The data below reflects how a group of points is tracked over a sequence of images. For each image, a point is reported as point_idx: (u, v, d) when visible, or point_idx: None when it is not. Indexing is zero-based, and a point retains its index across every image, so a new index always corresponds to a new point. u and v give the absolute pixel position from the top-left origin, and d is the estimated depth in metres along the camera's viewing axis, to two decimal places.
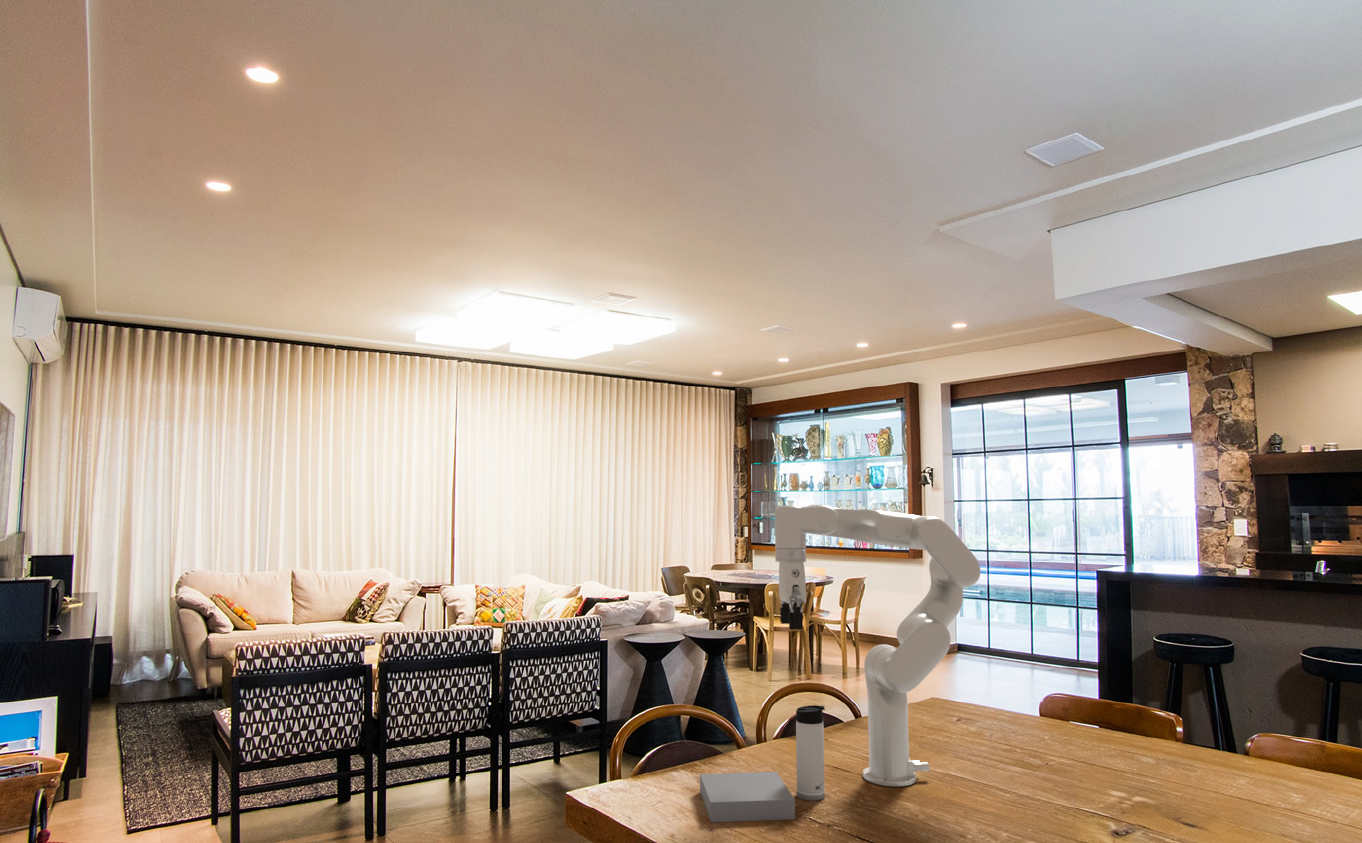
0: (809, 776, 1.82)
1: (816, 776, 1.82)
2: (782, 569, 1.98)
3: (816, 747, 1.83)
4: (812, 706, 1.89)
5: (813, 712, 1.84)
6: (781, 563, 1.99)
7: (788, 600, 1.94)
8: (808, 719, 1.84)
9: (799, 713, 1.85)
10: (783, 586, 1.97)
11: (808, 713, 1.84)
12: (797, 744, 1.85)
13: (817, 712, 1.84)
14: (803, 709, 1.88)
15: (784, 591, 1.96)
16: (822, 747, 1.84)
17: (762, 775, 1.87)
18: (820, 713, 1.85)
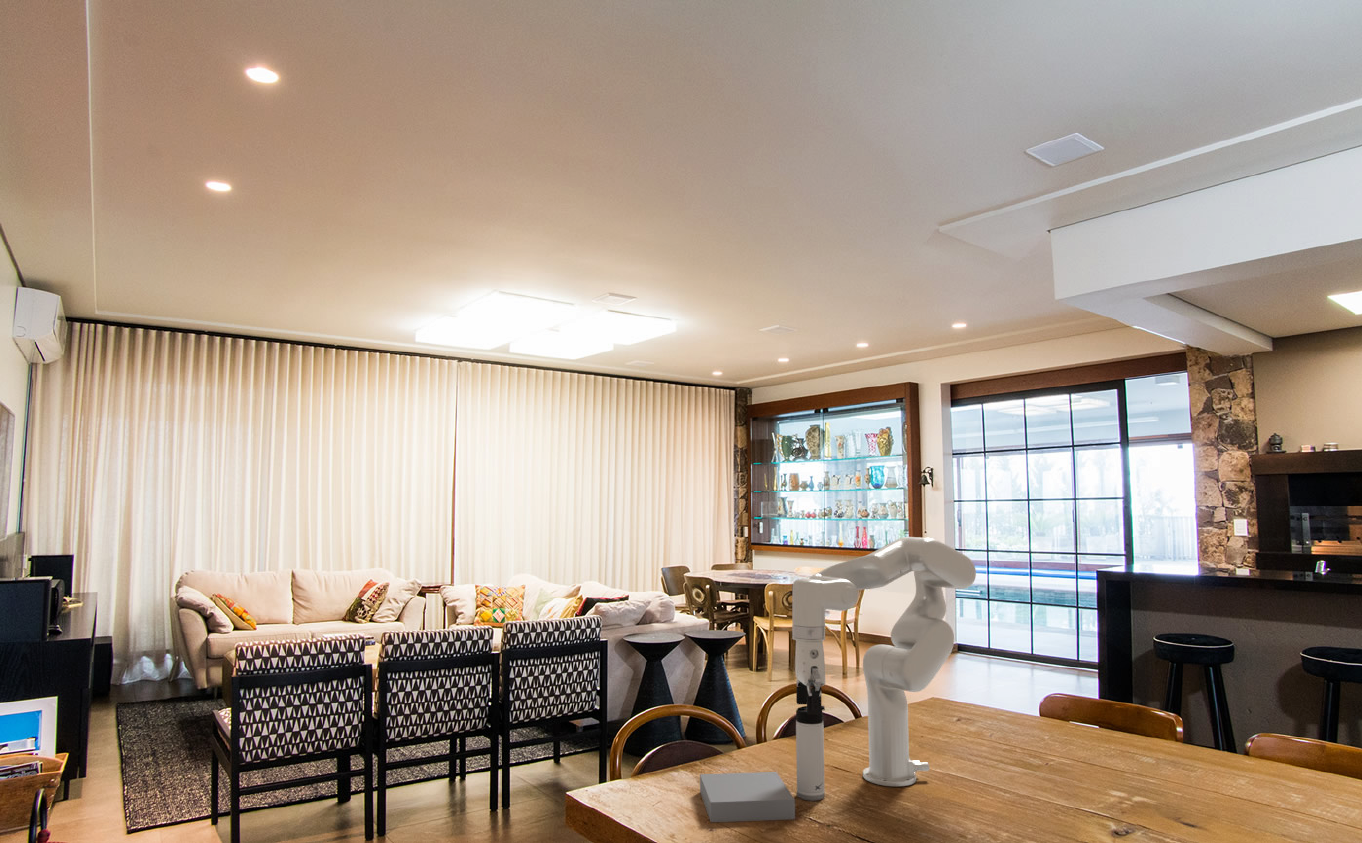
0: (809, 776, 1.82)
1: (816, 776, 1.82)
2: (800, 648, 1.86)
3: (816, 747, 1.83)
4: None
5: None
6: (798, 641, 1.87)
7: (806, 682, 1.83)
8: (808, 719, 1.84)
9: (799, 713, 1.85)
10: (801, 666, 1.85)
11: None
12: (797, 744, 1.85)
13: None
14: (803, 709, 1.88)
15: (802, 672, 1.85)
16: (822, 747, 1.84)
17: (762, 775, 1.87)
18: None
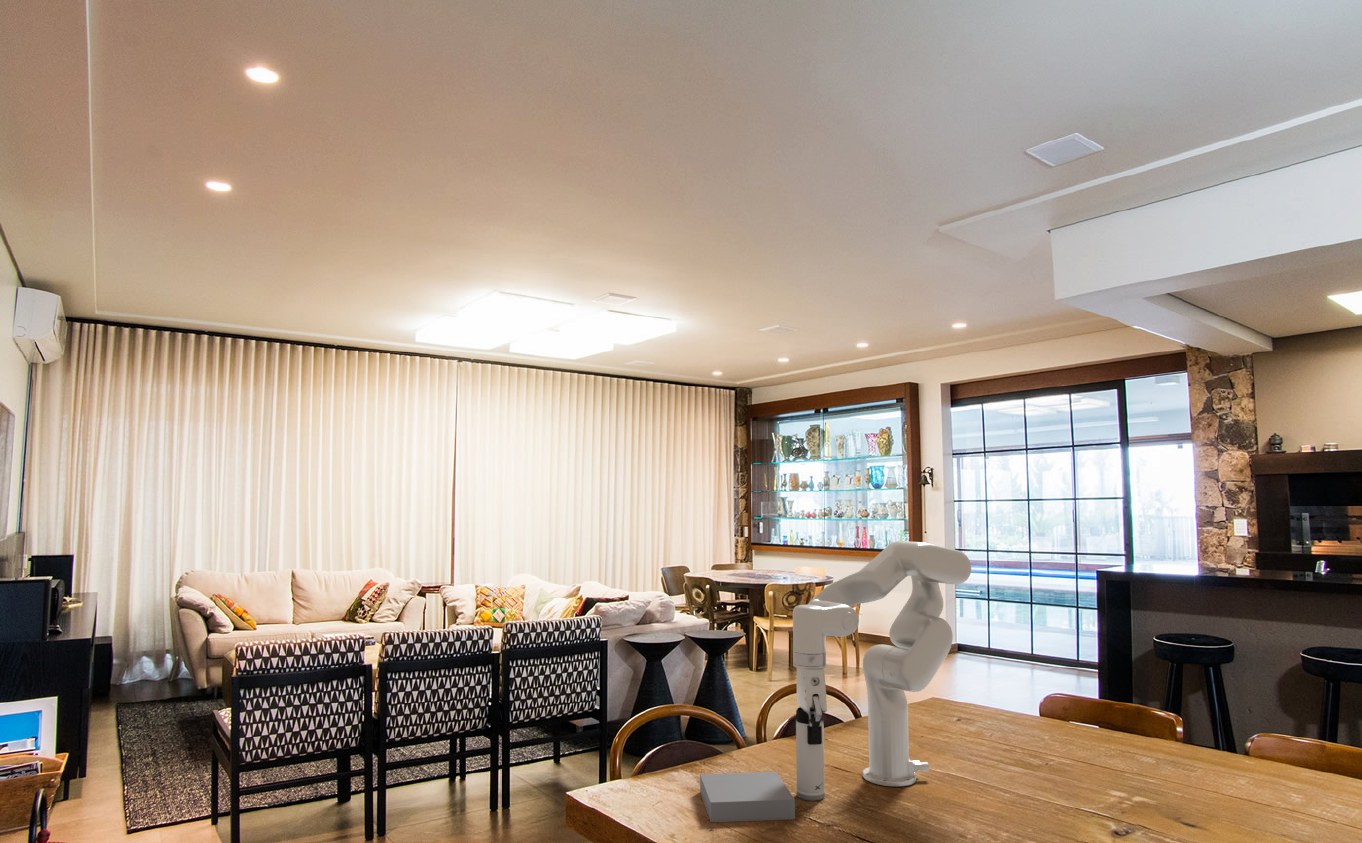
0: (809, 776, 1.82)
1: (816, 776, 1.82)
2: (801, 675, 1.86)
3: (816, 747, 1.83)
4: None
5: None
6: (799, 668, 1.87)
7: (808, 710, 1.82)
8: None
9: (799, 713, 1.85)
10: (802, 694, 1.85)
11: None
12: (797, 744, 1.85)
13: None
14: None
15: (803, 699, 1.84)
16: (822, 747, 1.84)
17: (762, 775, 1.87)
18: None
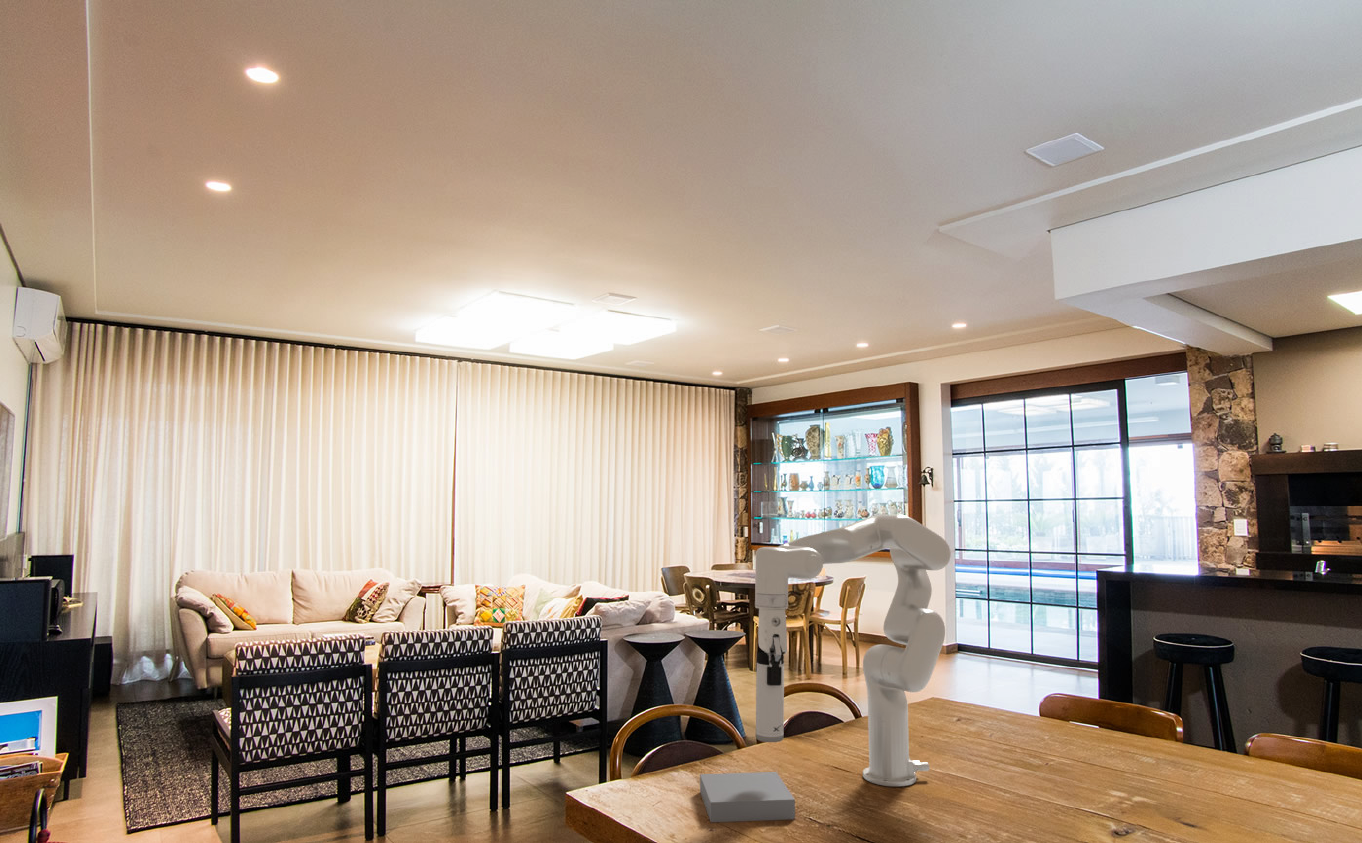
0: (768, 717, 1.80)
1: (775, 718, 1.80)
2: (762, 616, 1.84)
3: (776, 688, 1.81)
4: None
5: None
6: (761, 610, 1.85)
7: (768, 651, 1.80)
8: None
9: (759, 654, 1.83)
10: (763, 635, 1.83)
11: None
12: (757, 686, 1.83)
13: None
14: None
15: (763, 640, 1.82)
16: (782, 689, 1.82)
17: (762, 775, 1.87)
18: (781, 655, 1.83)
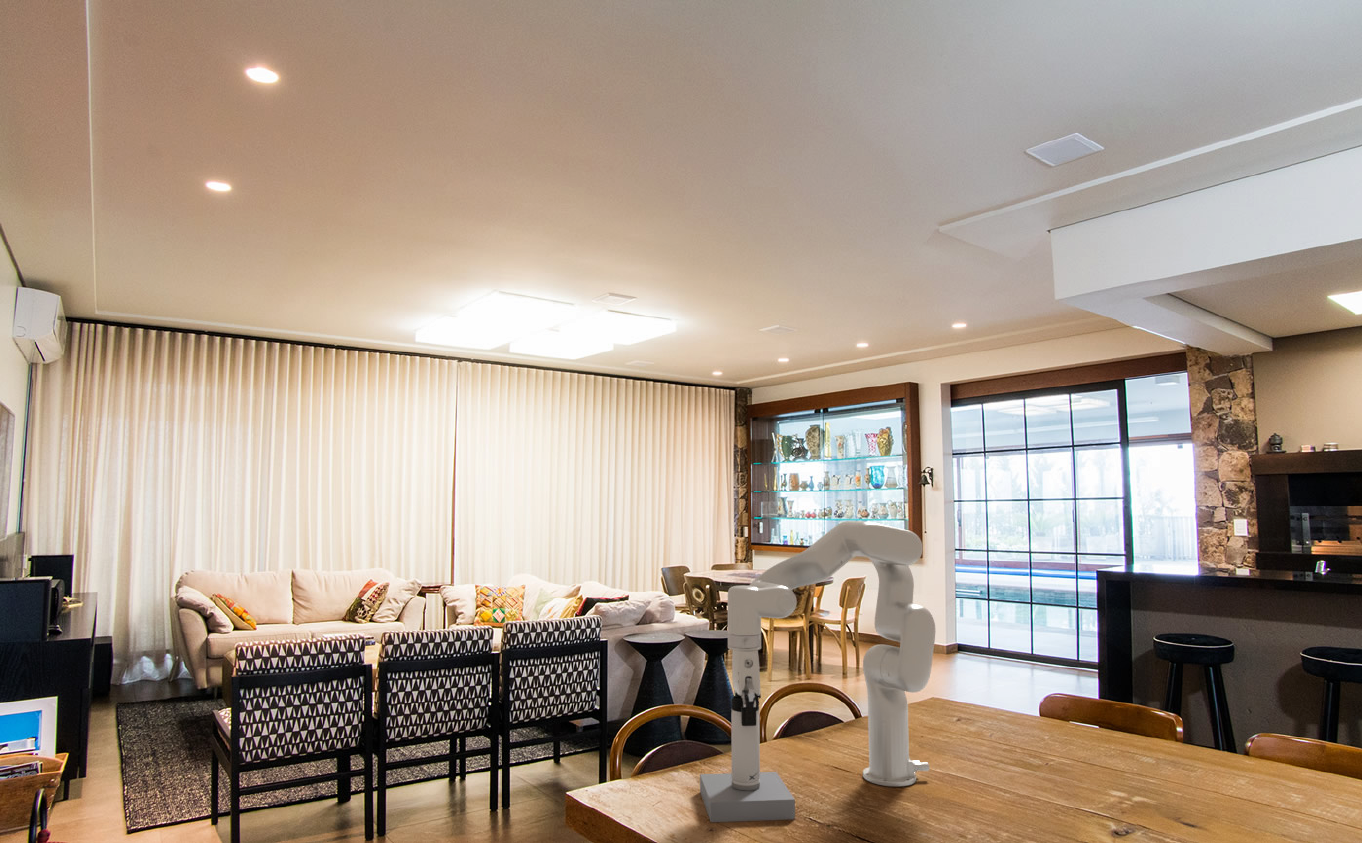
0: (743, 765, 1.77)
1: (750, 766, 1.77)
2: (735, 657, 1.81)
3: (751, 736, 1.78)
4: None
5: None
6: (734, 650, 1.82)
7: (740, 693, 1.77)
8: None
9: (734, 701, 1.80)
10: (735, 676, 1.80)
11: None
12: (732, 733, 1.80)
13: None
14: (739, 697, 1.83)
15: (736, 682, 1.79)
16: (757, 736, 1.79)
17: (762, 775, 1.87)
18: None
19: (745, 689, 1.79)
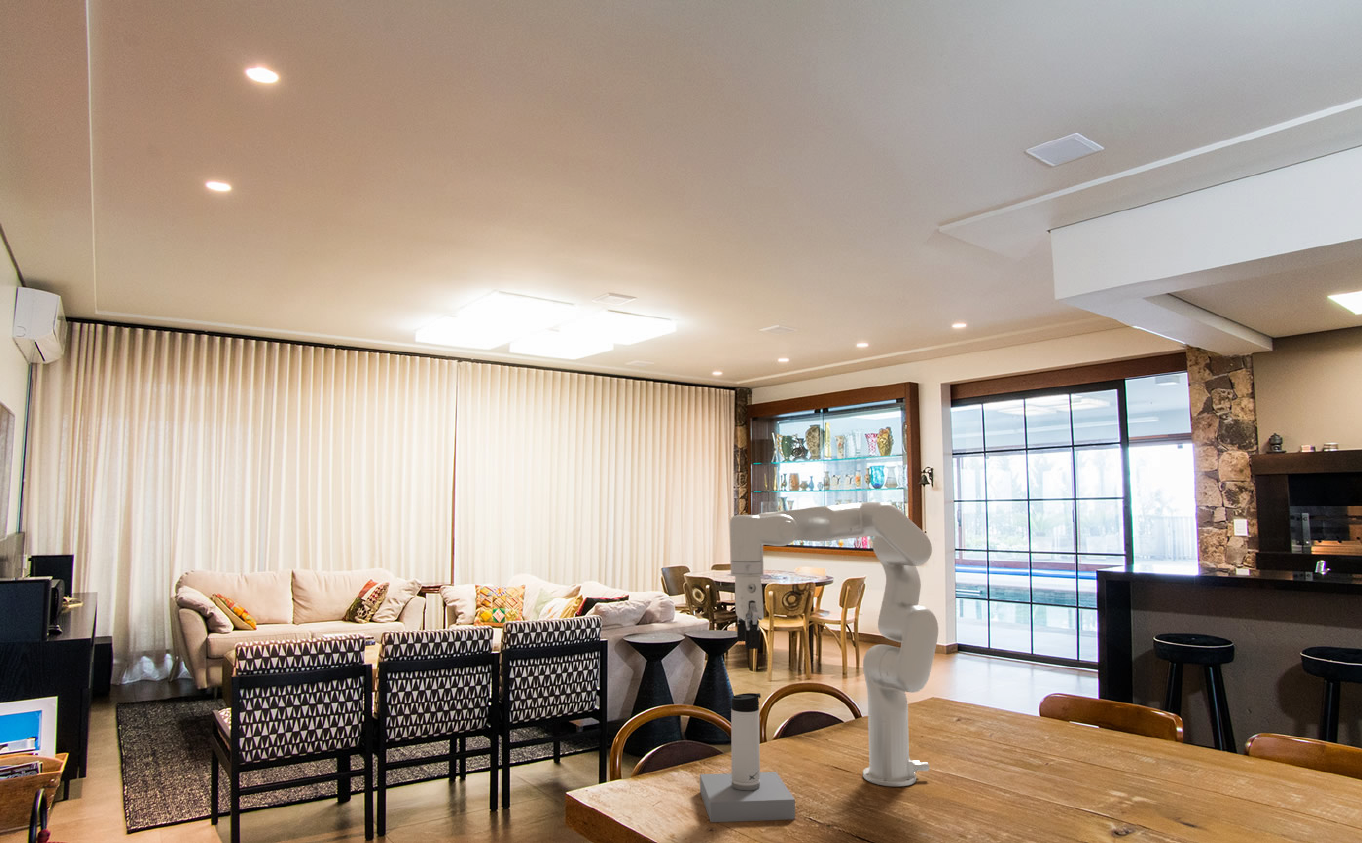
0: (743, 765, 1.77)
1: (750, 766, 1.77)
2: (738, 584, 1.84)
3: (751, 735, 1.78)
4: (749, 694, 1.84)
5: (748, 700, 1.79)
6: (737, 577, 1.85)
7: (744, 617, 1.80)
8: (742, 706, 1.79)
9: (734, 701, 1.80)
10: (739, 602, 1.83)
11: (743, 701, 1.79)
12: (732, 733, 1.80)
13: (752, 700, 1.79)
14: (739, 697, 1.83)
15: (740, 607, 1.82)
16: (757, 736, 1.79)
17: (762, 775, 1.87)
18: (755, 701, 1.79)
19: (748, 614, 1.82)
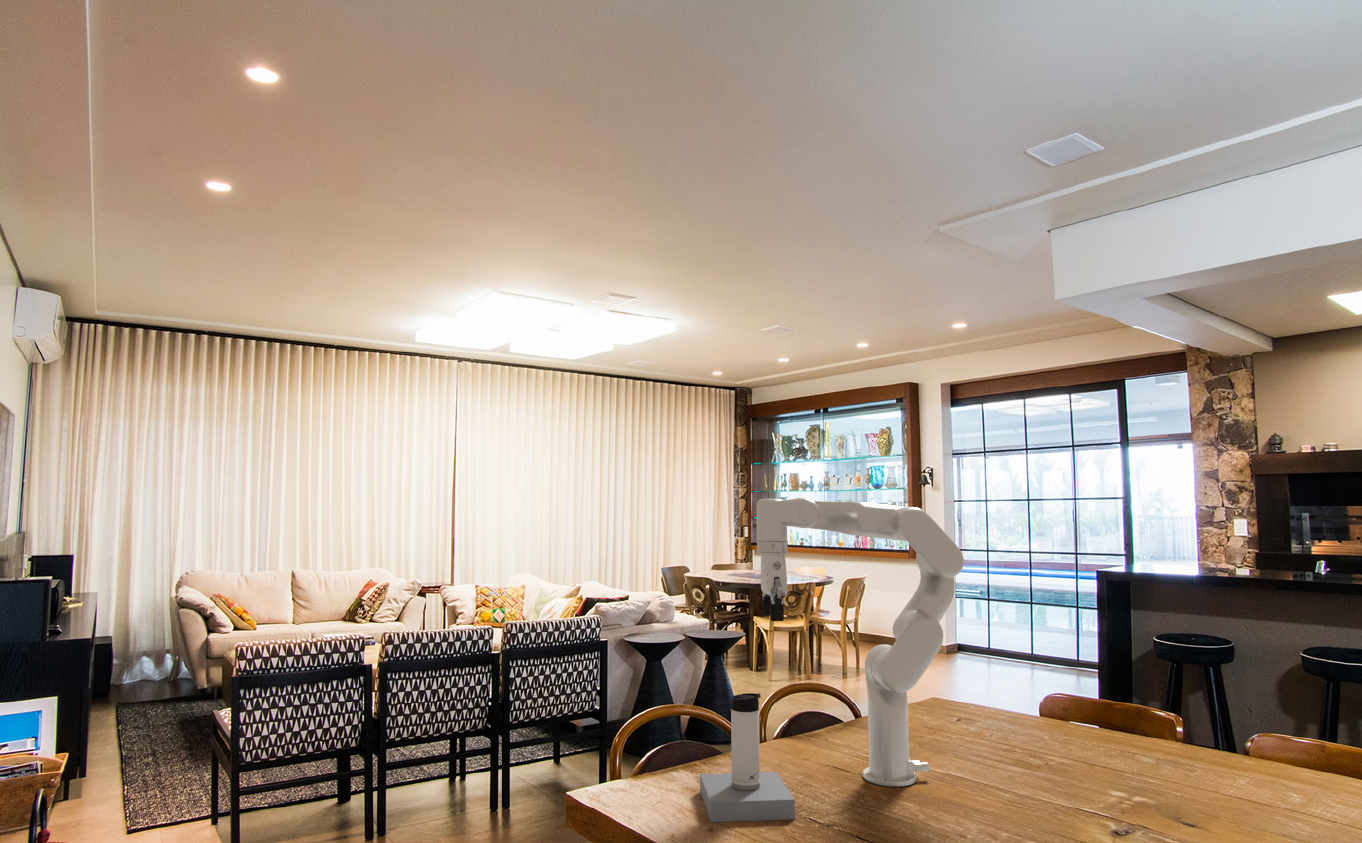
0: (743, 765, 1.77)
1: (750, 766, 1.77)
2: (763, 561, 2.00)
3: (751, 735, 1.78)
4: (749, 694, 1.84)
5: (748, 700, 1.79)
6: (763, 556, 2.01)
7: (769, 592, 1.96)
8: (742, 706, 1.78)
9: (734, 701, 1.80)
10: (764, 578, 1.99)
11: (742, 701, 1.79)
12: (732, 733, 1.80)
13: (752, 700, 1.79)
14: (739, 697, 1.83)
15: (765, 583, 1.98)
16: (757, 736, 1.79)
17: (762, 775, 1.87)
18: (755, 701, 1.79)
19: (773, 589, 1.97)
